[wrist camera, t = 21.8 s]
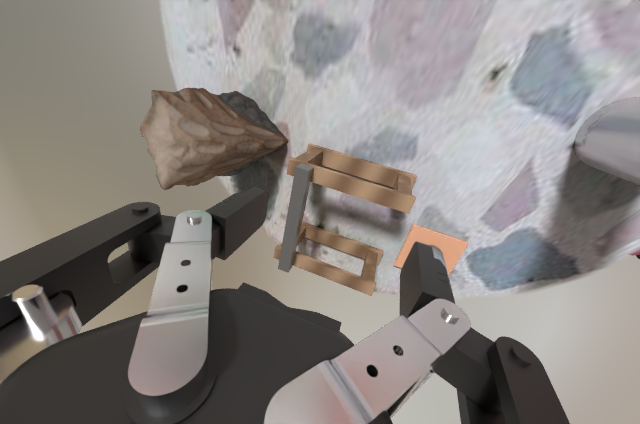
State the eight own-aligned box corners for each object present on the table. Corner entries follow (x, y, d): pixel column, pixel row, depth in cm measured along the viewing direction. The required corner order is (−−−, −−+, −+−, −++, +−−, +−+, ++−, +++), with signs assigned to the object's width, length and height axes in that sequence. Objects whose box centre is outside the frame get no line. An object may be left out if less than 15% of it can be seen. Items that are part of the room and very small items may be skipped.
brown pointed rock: (245, 170, 52) (167, 208, 35) (210, 115, 49) (107, 126, 32) (290, 143, 47) (225, 172, 30) (255, 79, 44) (158, 69, 26)
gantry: (416, 175, 42) (420, 198, 33) (378, 261, 52) (373, 298, 43) (310, 143, 46) (286, 156, 36) (293, 230, 55) (271, 257, 46)
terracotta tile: (467, 242, 45) (468, 244, 44) (442, 280, 49) (443, 283, 49) (413, 223, 46) (413, 225, 46) (394, 263, 51) (394, 265, 50)
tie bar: (313, 167, 36) (308, 171, 34) (292, 265, 45) (288, 272, 43) (300, 163, 36) (295, 166, 34) (282, 261, 45) (278, 268, 43)
